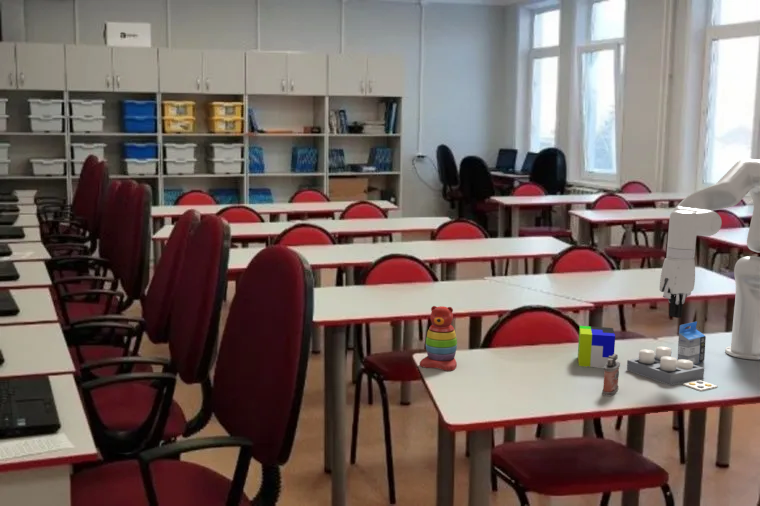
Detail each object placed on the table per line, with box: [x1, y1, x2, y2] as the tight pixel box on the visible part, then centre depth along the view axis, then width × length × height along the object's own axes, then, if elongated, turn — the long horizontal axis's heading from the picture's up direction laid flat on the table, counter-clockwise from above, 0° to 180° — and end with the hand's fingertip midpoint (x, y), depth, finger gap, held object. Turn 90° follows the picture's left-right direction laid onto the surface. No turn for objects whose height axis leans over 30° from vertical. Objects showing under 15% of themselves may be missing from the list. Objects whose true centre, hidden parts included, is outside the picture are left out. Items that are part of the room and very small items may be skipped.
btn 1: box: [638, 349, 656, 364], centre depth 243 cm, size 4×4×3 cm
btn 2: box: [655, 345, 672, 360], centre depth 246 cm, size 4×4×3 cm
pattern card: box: [682, 379, 719, 392], centre depth 231 cm, size 7×6×1 cm
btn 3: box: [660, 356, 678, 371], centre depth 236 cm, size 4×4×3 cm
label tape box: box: [677, 321, 707, 365], centre depth 252 cm, size 9×4×12 cm, turn 126°
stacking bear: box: [419, 305, 458, 371], centre depth 246 cm, size 11×10×18 cm
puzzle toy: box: [577, 325, 616, 368], centre depth 252 cm, size 10×10×10 cm
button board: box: [626, 357, 705, 386], centre depth 242 cm, size 14×16×3 cm
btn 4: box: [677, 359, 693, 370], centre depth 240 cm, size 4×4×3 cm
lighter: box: [601, 353, 621, 397], centre depth 225 cm, size 8×3×10 cm, turn 148°
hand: (675, 316), depth 238 cm, fingers closed
